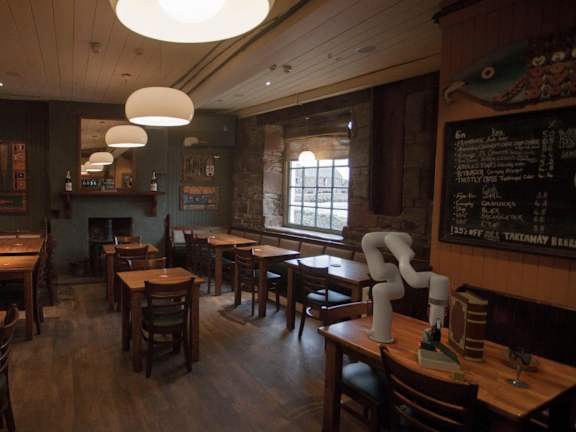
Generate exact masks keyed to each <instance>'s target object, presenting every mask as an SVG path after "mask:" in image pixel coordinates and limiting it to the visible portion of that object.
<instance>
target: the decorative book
mask: <svg viewBox="0 0 576 432" xmlns="http://www.w3.org/2000/svg"><path fill="white" fill-rule="evenodd" d="M488 305H489V301H488V300H486V299H485V298H482V297H480V296H478V295H477V294H475V293H473V292H471V291H469V290H467V289H465V292H458V291H456V290H454V289H451V290H450V301H449V315H448V316H449V317H448V318H449V319H448V330H447V331H448V332H447V343H448V345H450V347H452V349H454V350H455V351H456V352H458V354H460V355H461V356H462V357H463V358H464V359H465V360H467V361H470V362H471V361H472V362H477V363H480V362H484V360H485V359H484V351H485V342H486V339H485V332H486V324H487V320H486V319H487V315H488V312H487V308H488V307H487V306H488Z"/></svg>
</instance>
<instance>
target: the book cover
mask: <svg viewBox="0 0 576 432" xmlns="http://www.w3.org/2000/svg"><path fill="white" fill-rule="evenodd" d="M423 331H424V330H423ZM433 332H434V330H433ZM433 332H432V333H431V334H429V333H428V332H427V331H424V333H425V336H426V339H427V341H428V342H430V343H431V344H432V345H433V346H435V347H436V350H438V351H439V352H440V353H444V354H445V355H447V356H448V357H449V358H451V359H452V360H453V361H454V362H456V363H457V364H458V365H460V366H461V362H460V360H459V357H458V355H457V353H456V352H455V351H453V350H452V349H450V348H449V347H448V346H446V345H445V344H444V343H442V342H441V341H440V342H439V341H433V336H432V335H433Z"/></svg>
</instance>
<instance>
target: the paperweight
mask: <svg viewBox="0 0 576 432" xmlns="http://www.w3.org/2000/svg"><path fill="white" fill-rule="evenodd" d="M451 379H452V381H453V380H458V381H464V382H465V372H464V370H463V369H460V370H458V369H452V372H451Z"/></svg>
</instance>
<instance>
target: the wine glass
mask: <svg viewBox="0 0 576 432" xmlns="http://www.w3.org/2000/svg"><path fill="white" fill-rule="evenodd" d="M507 351H508V355H509V360H510V362H511V363H512V365H513V366H514V367H515V368H516V369H515V370H516V379H508V380H507V381H506V382H507V383H508V384H509V385H511V386H513V387H516V388H520V389H529V388H530V387H529V384H527V383H526V382H523V381H521V380H520V376H521V374H522V373H521V372H523V369H525V368H526V367H528V366H529V365H530V363H531V361H532V357H533V351H532V350H530V349H527V348H523V347H520V346H509V347H508V350H507Z"/></svg>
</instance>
